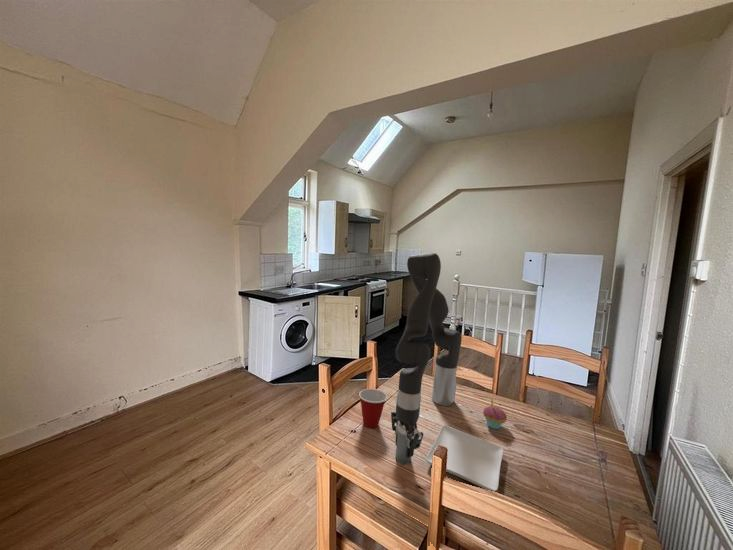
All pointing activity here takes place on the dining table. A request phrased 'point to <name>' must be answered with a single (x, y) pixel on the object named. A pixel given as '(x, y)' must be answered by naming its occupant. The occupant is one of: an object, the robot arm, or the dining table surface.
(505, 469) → the dining table surface
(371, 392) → the plastic cup
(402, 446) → the shaker
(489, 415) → the cupcake
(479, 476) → the salad plate
